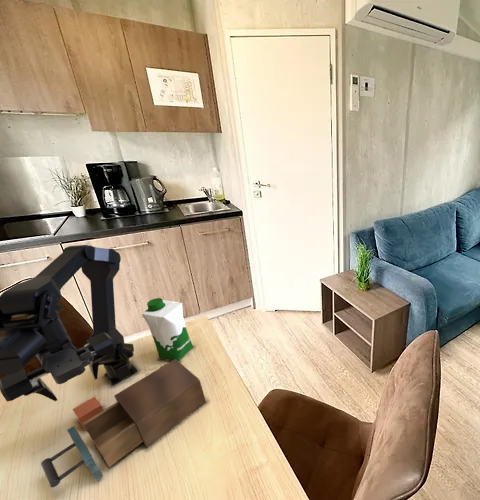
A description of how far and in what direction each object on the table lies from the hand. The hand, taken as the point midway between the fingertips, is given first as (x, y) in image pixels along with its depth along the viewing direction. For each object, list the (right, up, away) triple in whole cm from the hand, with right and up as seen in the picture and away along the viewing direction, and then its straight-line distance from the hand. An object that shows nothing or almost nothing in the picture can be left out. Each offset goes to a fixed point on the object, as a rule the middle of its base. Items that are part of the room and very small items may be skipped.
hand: (76, 388), depth 68 cm
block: (0, -10, +4) cm, 11 cm away
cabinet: (+17, -9, +7) cm, 21 cm away
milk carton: (+9, -1, +26) cm, 27 cm away
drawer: (+10, -12, -3) cm, 16 cm away
